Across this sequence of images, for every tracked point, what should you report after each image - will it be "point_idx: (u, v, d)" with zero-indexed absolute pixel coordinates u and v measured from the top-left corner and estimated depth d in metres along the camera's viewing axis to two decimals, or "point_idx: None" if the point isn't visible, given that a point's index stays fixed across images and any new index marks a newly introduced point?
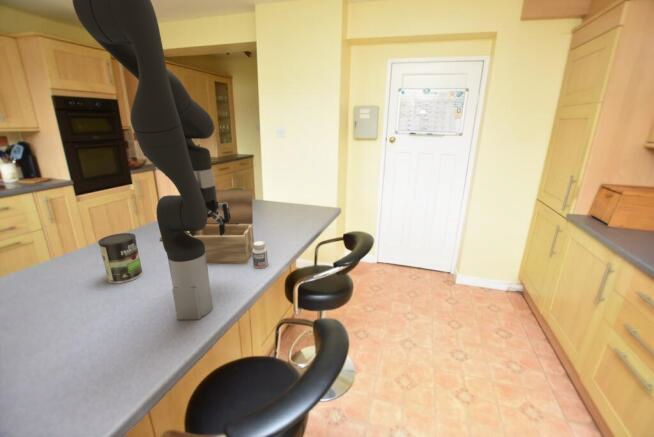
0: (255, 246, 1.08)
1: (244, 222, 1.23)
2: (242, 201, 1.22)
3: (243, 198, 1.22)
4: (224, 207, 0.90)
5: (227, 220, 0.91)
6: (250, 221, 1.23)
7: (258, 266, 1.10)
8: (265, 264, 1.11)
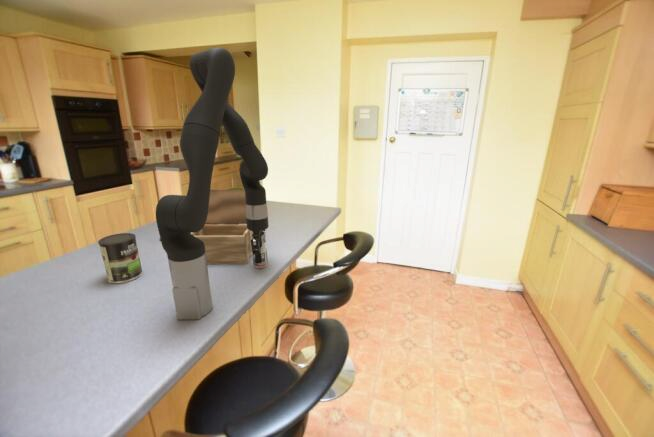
0: None
1: (244, 222, 1.23)
2: (242, 201, 1.22)
3: (243, 198, 1.22)
4: (264, 230, 1.15)
5: None
6: None
7: (258, 266, 1.10)
8: (265, 264, 1.11)
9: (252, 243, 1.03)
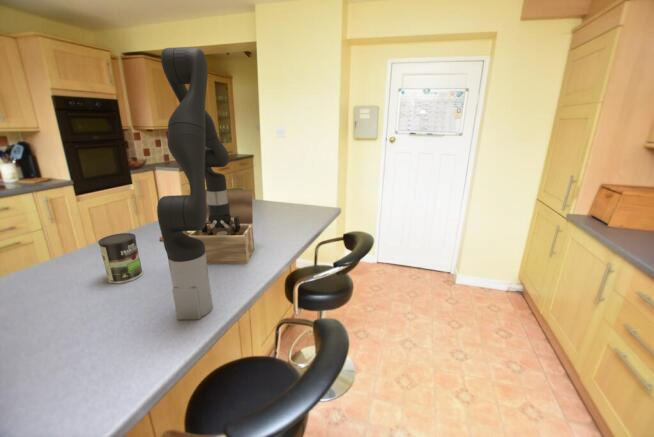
0: None
1: (244, 222, 1.23)
2: (242, 201, 1.22)
3: (243, 198, 1.22)
4: None
5: None
6: (250, 221, 1.23)
7: None
8: None
9: (237, 220, 1.15)
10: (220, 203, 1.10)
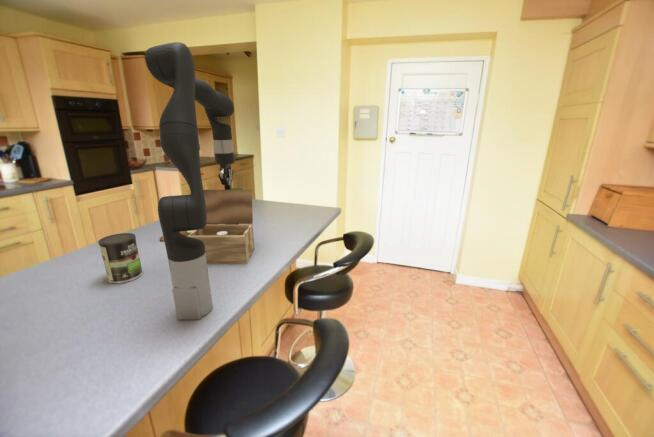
0: None
1: (244, 222, 1.23)
2: (242, 201, 1.22)
3: (243, 198, 1.22)
4: (233, 171, 1.27)
5: (232, 180, 1.26)
6: (250, 221, 1.22)
7: None
8: None
9: (220, 177, 1.17)
10: (214, 151, 1.18)
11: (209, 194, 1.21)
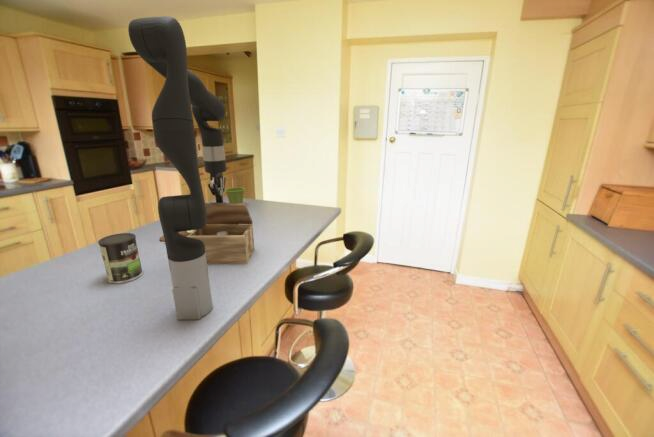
0: None
1: (244, 223, 1.23)
2: (237, 212, 1.15)
3: (238, 210, 1.14)
4: (225, 179, 1.17)
5: (224, 189, 1.16)
6: (250, 223, 1.22)
7: None
8: None
9: (210, 187, 1.07)
10: (203, 158, 1.07)
11: None
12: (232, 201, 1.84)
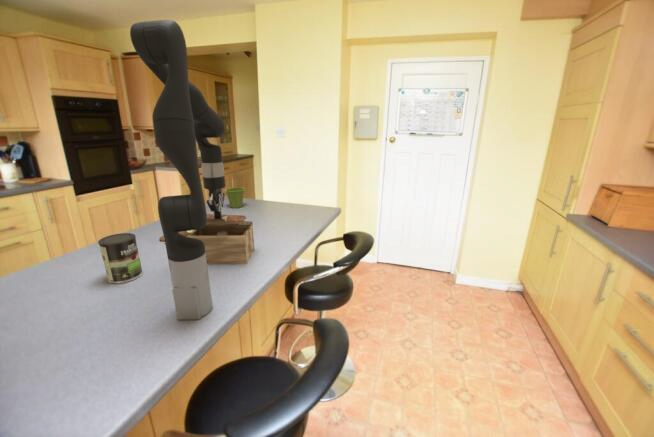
0: None
1: None
2: None
3: None
4: (223, 195, 1.16)
5: None
6: None
7: None
8: None
9: (208, 204, 1.06)
10: (202, 175, 1.07)
11: None
12: (232, 201, 1.84)
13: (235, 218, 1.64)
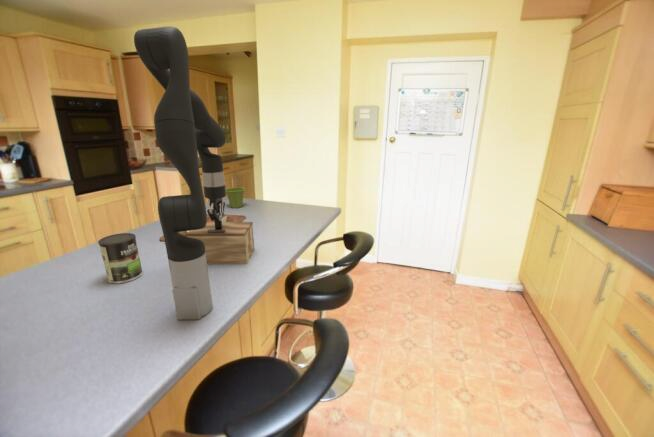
0: None
1: None
2: None
3: None
4: (224, 204, 1.17)
5: (223, 214, 1.15)
6: None
7: None
8: None
9: (209, 213, 1.06)
10: (203, 184, 1.07)
11: None
12: (232, 201, 1.84)
13: (235, 218, 1.64)
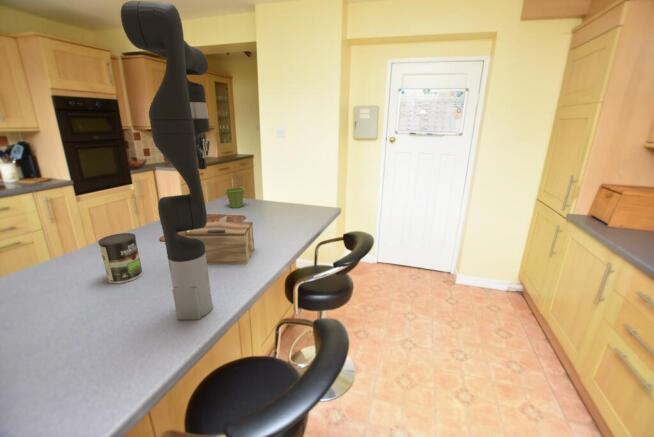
0: None
1: None
2: None
3: None
4: (208, 143, 1.09)
5: (207, 153, 1.08)
6: None
7: None
8: None
9: None
10: None
11: None
12: (232, 201, 1.84)
13: (235, 218, 1.64)
